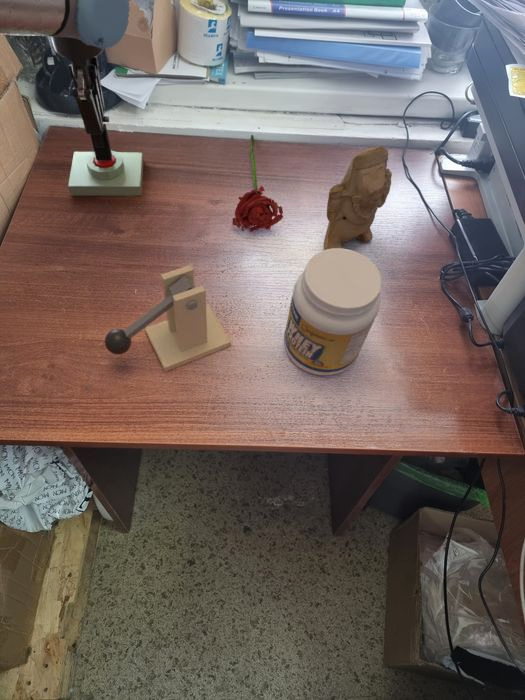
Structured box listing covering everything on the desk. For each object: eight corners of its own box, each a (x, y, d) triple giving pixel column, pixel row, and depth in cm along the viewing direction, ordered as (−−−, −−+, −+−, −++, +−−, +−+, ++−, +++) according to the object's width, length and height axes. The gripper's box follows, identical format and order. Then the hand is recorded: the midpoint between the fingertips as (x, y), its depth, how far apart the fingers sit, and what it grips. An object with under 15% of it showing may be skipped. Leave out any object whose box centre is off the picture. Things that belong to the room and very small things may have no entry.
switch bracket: (164, 372, 76) (155, 318, 64) (145, 332, 80) (133, 274, 68) (230, 345, 79) (233, 290, 68) (209, 308, 83) (208, 250, 71)
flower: (240, 167, 113) (245, 249, 94) (220, 129, 107) (220, 209, 87) (278, 149, 111) (291, 230, 91) (260, 109, 104) (269, 187, 84)
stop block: (70, 195, 95) (65, 178, 91) (76, 161, 100) (71, 143, 97) (141, 195, 96) (138, 178, 93) (143, 161, 101) (141, 144, 98)
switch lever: (120, 362, 72) (104, 355, 69) (112, 343, 74) (96, 335, 71) (203, 299, 70) (190, 289, 67) (193, 280, 72) (179, 270, 68)
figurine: (327, 268, 90) (352, 175, 73) (306, 241, 93) (326, 146, 76) (384, 247, 94) (421, 154, 77) (362, 221, 97) (393, 127, 80)
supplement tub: (267, 344, 80) (277, 273, 66) (316, 302, 85) (336, 229, 71) (325, 393, 76) (350, 330, 62) (373, 346, 81) (406, 278, 67)
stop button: (95, 173, 95) (93, 165, 93) (97, 160, 97) (95, 153, 95) (115, 173, 95) (113, 165, 94) (116, 161, 97) (114, 153, 96)
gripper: (96, 45, 71) (122, 181, 91) (103, 0, 78) (126, 136, 98) (41, 43, 70) (79, 181, 90) (53, -2, 77) (87, 135, 97)
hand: (104, 157), depth 94 cm, fingers closed
